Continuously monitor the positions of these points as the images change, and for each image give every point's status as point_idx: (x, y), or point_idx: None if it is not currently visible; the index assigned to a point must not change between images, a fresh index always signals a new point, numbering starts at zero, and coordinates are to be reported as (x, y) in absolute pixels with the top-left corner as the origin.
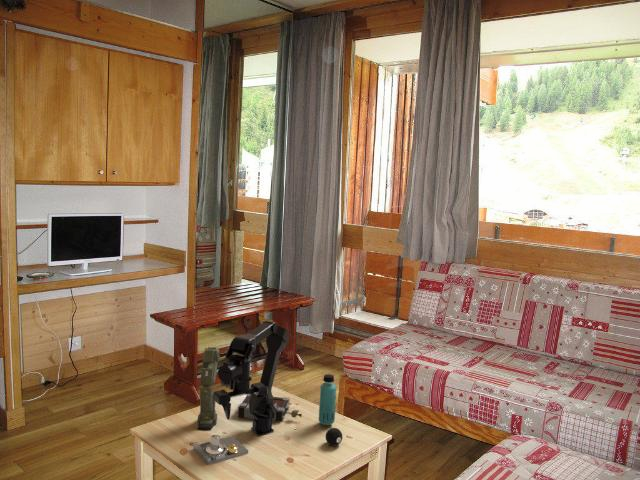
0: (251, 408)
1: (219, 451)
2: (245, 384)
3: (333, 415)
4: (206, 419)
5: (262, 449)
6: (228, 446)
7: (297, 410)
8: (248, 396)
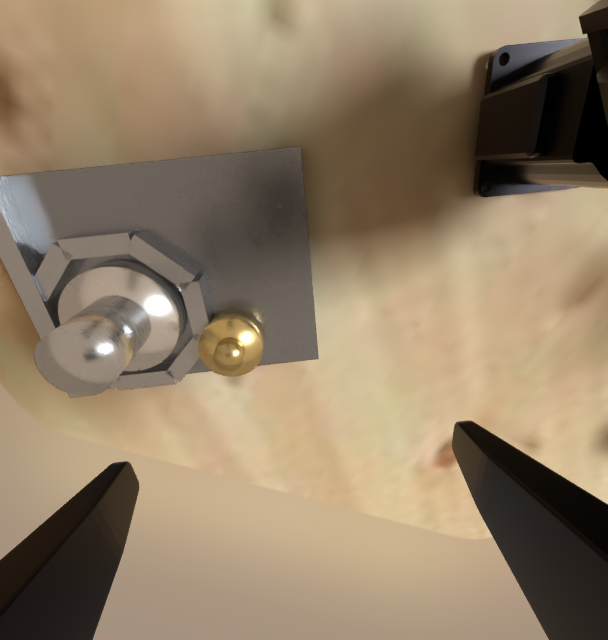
0: (496, 493)
1: (142, 367)
2: None
3: None
4: None
5: (398, 344)
6: (209, 335)
7: None
8: None
